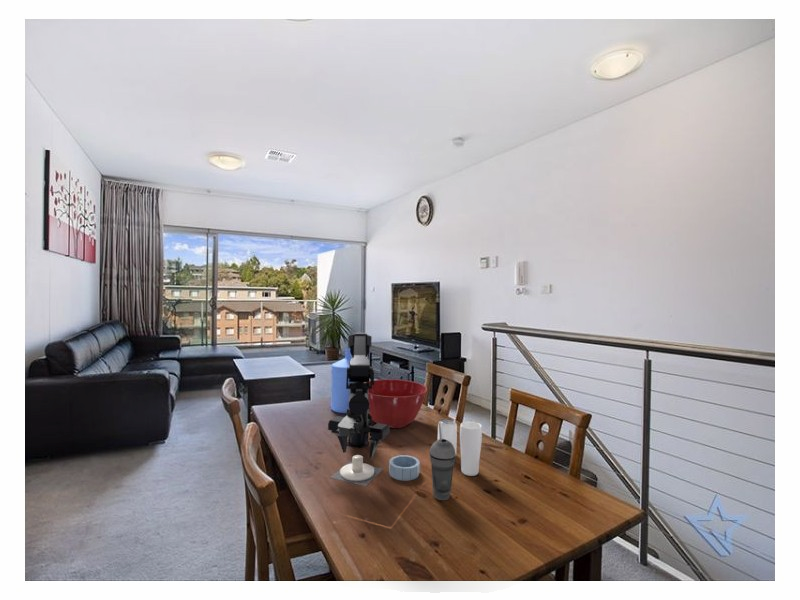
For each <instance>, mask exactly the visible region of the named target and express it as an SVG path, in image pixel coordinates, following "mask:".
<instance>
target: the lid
mask: <svg viewBox="0 0 800 600" xmlns="http://www.w3.org/2000/svg"><path fill="white" fill-rule="evenodd" d="M351 462H352V463H351V464H348V465H346V464H345V465H343V466H342V467H341V468H340V469H341V470H340V469H339V470H340V475H341V477H342V478H344V479H346V480H349V481H363V480H367V479H369V478H371V477H372V476H373V475H374V468H373V467H372V466H373V465H371V464H370V463H369V464H368V463H364V456H362V455H360V454H356V455H353V456H352V460H351Z"/></svg>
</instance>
